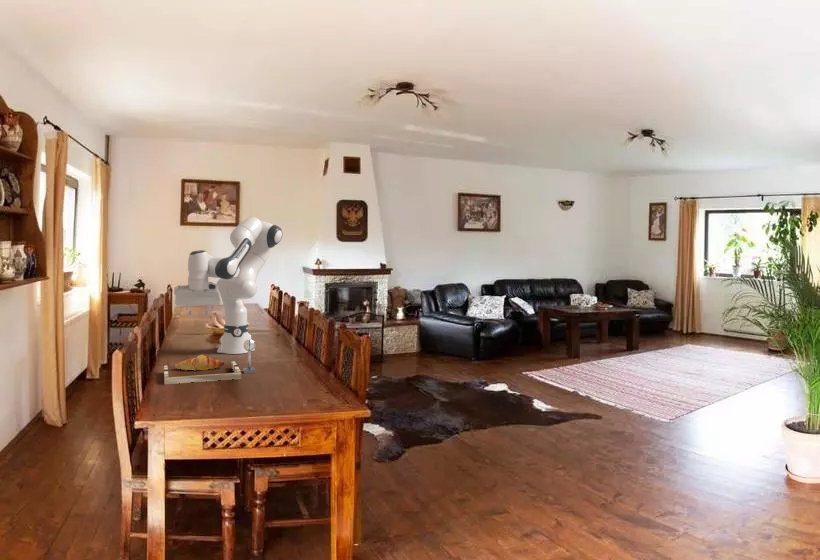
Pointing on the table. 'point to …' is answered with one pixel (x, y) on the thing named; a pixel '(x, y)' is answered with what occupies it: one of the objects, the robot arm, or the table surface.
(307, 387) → the table surface
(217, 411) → the table surface
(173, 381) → the frame
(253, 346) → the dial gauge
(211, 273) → the robot arm
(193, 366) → the croissant
